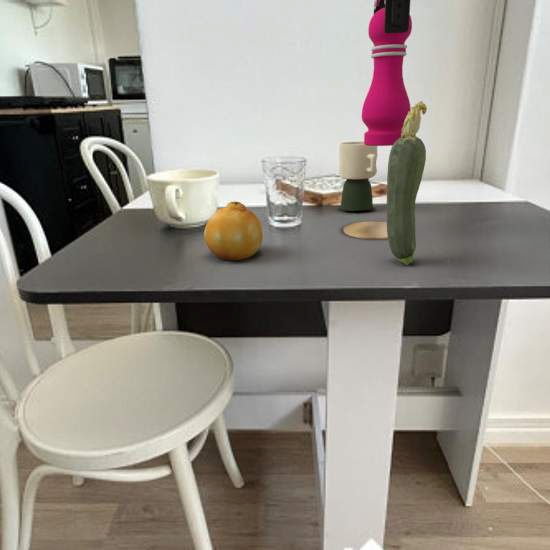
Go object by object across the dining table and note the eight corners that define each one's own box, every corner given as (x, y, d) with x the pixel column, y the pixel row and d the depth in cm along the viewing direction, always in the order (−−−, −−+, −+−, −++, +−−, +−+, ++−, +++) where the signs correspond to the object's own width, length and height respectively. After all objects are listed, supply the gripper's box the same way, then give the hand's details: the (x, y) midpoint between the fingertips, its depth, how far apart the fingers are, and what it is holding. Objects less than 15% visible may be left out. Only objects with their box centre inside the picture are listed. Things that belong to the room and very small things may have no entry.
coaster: (401, 224, 76) (401, 221, 76) (409, 240, 67) (409, 237, 67) (343, 224, 78) (343, 221, 78) (343, 240, 69) (343, 237, 68)
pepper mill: (390, 147, 63) (398, -16, 56) (351, 145, 68) (354, -4, 61) (418, 142, 67) (429, -9, 60) (379, 141, 72) (385, 1, 65)
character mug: (388, 214, 83) (392, 143, 78) (356, 219, 81) (358, 146, 76) (356, 204, 93) (358, 139, 88) (327, 208, 90) (327, 142, 85)
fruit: (275, 232, 66) (245, 188, 63) (269, 254, 59) (234, 205, 56) (232, 258, 69) (201, 216, 66) (221, 281, 61) (186, 236, 59)
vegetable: (380, 266, 57) (388, 102, 50) (384, 256, 61) (392, 102, 54) (416, 269, 56) (429, 100, 48) (418, 258, 59) (431, 100, 52)
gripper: (453, -163, 48) (437, 25, 54) (406, -96, 64) (399, 43, 70) (384, -160, 48) (377, 27, 54) (355, -93, 64) (352, 45, 70)
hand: (389, 35), depth 62 cm, fingers closed on pepper mill, 6 cm apart
